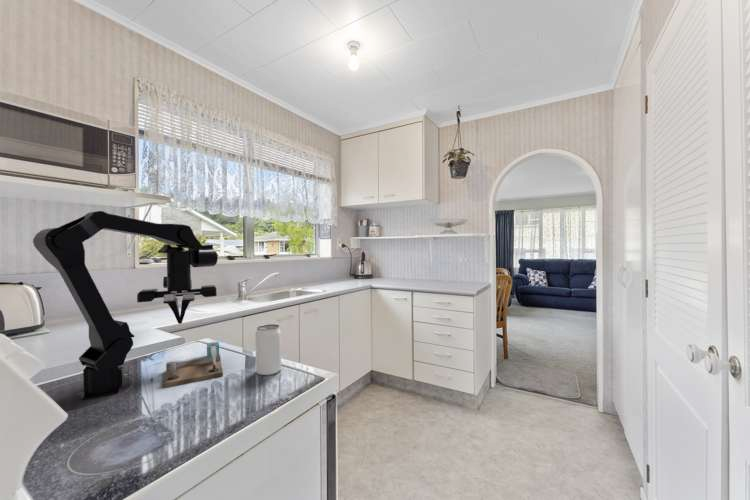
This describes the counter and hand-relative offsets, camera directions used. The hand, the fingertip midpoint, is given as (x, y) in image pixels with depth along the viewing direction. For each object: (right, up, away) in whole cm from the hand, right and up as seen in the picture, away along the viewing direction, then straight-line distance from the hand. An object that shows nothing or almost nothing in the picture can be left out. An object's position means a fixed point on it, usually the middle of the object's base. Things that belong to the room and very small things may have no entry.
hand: (180, 323), depth 89 cm
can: (+27, -12, -5) cm, 30 cm away
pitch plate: (+7, -12, -6) cm, 15 cm away
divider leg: (+11, -10, -2) cm, 15 cm away
